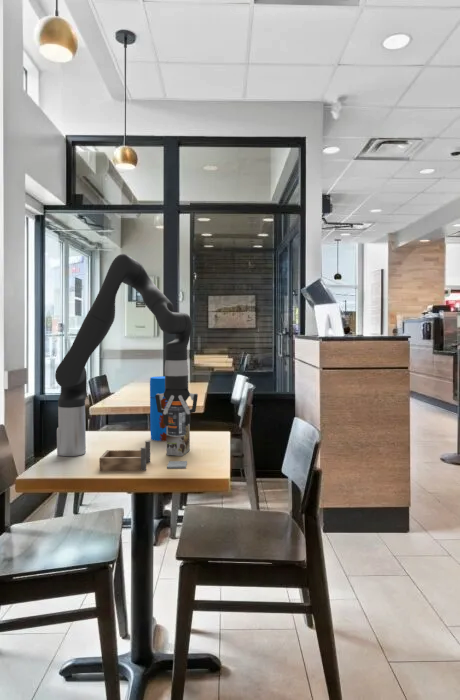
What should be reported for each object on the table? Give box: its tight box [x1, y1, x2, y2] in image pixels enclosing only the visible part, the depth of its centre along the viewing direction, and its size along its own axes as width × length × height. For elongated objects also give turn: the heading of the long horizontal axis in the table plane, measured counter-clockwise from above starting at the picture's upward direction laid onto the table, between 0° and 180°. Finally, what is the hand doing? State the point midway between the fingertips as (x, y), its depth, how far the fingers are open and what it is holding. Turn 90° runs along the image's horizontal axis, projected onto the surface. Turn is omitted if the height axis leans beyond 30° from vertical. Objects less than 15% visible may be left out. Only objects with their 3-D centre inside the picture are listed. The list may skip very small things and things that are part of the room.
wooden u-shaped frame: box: [98, 440, 151, 472], centre depth 171 cm, size 14×11×7 cm
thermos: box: [149, 375, 168, 442], centre depth 215 cm, size 11×11×25 cm
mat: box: [166, 460, 188, 469], centre depth 172 cm, size 6×7×1 cm
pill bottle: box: [168, 401, 186, 436], centre depth 171 cm, size 6×6×11 cm
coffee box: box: [165, 406, 191, 457], centre depth 189 cm, size 9×6×16 cm
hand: (177, 425), depth 171 cm, fingers closed on pill bottle, 6 cm apart
